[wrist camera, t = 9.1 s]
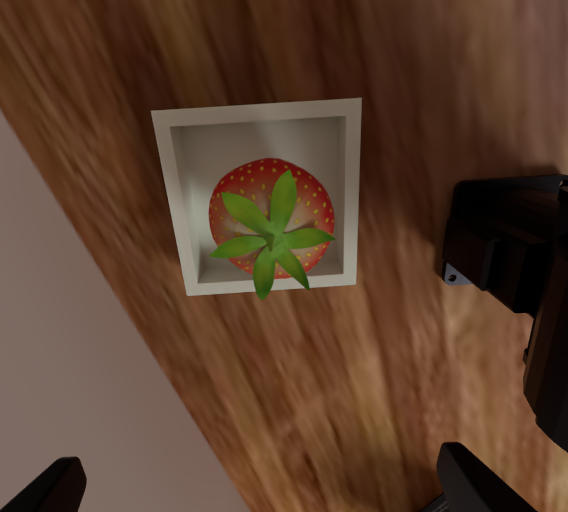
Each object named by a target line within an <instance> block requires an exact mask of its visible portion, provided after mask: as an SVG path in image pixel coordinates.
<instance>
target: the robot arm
mask: <svg viewBox="0 0 568 512" xmlns="http://www.w3.org/2000/svg"><path fill="white" fill-rule="evenodd" d="M562 180H563V183H562V185H561V186H560V187H559V184H560V182H561V181H562ZM465 186H467V191H466V192H465V193H462V190H463V188H464V187H465ZM442 258H443V259H444V263H443V270H442V280H443V281H444V282H445V283H446V284H448V285H464V284H474V285H475V286H476V287H477V288H479V289H480V290H481V291H488V292H489V293H490V294H491V295H493V296H494V297H495V298H496V299H498V300H499V301H500V302H501V303H503V304H504V305H505V306H506V307H508V308H509V309H510V310H511V311H513V312H514V313H527V314H528V315H529V316H531V317H532V318H533V319H534V321H533V325H532V330H531V334H530V339H529V343H528V348H527V349H525V350H524V354H523V361H524V363H525V365H526V367H525V372H524V376H523V391H524V395H525V397H526V399H527V401H528V403H529V405H530V407H531V408H532V410H533V412H534V414H535V415H536V419H535V422H536V424H537V425H538V427H539V428H540V429H541V430H542V431H543V432H544V433H545V434H546V435H547V436H548V437H549V438H550V439H551V440H552V441H553V442H554V443H556V444H557V445H558V446H560V447H561V448H562V449H563V450H565V451H566V452H567V453H568V175H564V174H553V175H538V176H522V177H506V178H491V179H475V180H463V181H460V182H459V183H457V185H456V186H455V188H454V194H453V201H452V207H451V214H450V217H449V219H448V220H447V225H446V232H445V239H444V246H443V254H442ZM451 275H453V277H452V278H451V279H448V278H449V276H451ZM437 473H438V476H439V479H440V482H441V485H442V489H443V492H444V495H445V498H446V501H447V504H448V507H449V510H450V512H537V511H536V510H535V509H534V508H533V507H532V506H531V505H529V504H528V503H527V502H526V501H525V500H524V499H523V498H522V497H521V496H519V495H518V494H517V493H516V492H515V491H514V490H513V489H512V488H511V487H509V486H508V485H507V484H506V483H505V482H504V481H503V480H502V479H500V478H499V477H498V476H497V475H496V474H495V473H494V472H493V471H492V470H490V469H489V468H488V467H487V466H486V465H485V464H484V463H483V462H482V461H480V460H479V459H478V458H477V457H476V456H475V455H474V454H473V453H472V452H470V451H469V450H468V449H467V448H466V447H465V446H464V445H462V444H461V443H459V442H444V443H443V444H442V445H441V448H440V452H439V456H438V460H437ZM86 480H87V479H86V475H85V472H84V470H83V467H82V464H81V462H80V459H79V458H78V457H62V458H59V459H57V460H56V461H55V462H53V463H52V464H51V465H50V466H49V467H48V468H47V469H46V470H45V471H43V472H42V473H41V474H40V475H39V476H38V477H36V478H35V479H34V480H33V481H32V482H31V483H30V484H29V485H27V486H26V487H25V488H24V489H23V490H22V491H21V492H20V493H18V494H17V495H16V496H15V497H14V498H13V499H12V500H10V501H9V502H8V503H7V504H6V505H5V506H4V507H3V508H1V509H0V512H78V509H79V506H80V503H81V500H82V497H83V494H84V492H85V488H86V483H87V481H86Z"/></svg>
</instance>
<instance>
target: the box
mask: <svg viewBox="0 0 568 512" xmlns="http://www.w3.org/2000/svg"><path fill="white" fill-rule="evenodd" d="M421 512H450V510H449V507H448V504H447V501H446V498H445V495H444V494H443V495H441V496H440V497H439V498H438V499H437V500H435V501H434V502H433V503H431V504H430V505H429V506H428V507H427V508H425V509H424V510H423V511H421Z"/></svg>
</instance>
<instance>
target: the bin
mask: <svg viewBox="0 0 568 512" xmlns="http://www.w3.org/2000/svg"><path fill="white" fill-rule="evenodd" d="M361 109H362V98H350V99H334V100H318V101H301V102H285V103H269V104H252V105H236V106H220V107H204V108H187V109H171V110H155V111H151V115H152V120H153V125H154V130H155V135H156V140H157V145H158V151H159V156H160V161H161V166H162V171H163V176H164V181H165V186H166V191H167V196H168V201H169V206H170V212H171V217H172V222H173V227H174V232H175V237H176V242H177V247H178V252H179V257H180V262H181V267H182V273H183V278H184V283H185V288H186V293H187V296H193V295H207V294H222V293H237V292H252V291H256V290H255V286H254V282H253V275H252V274H250V273H247V272H245V271H243V270H242V269H240V268H239V267H237V266H236V265H234V264H233V263H232V262H231V261H230V260H228V259H227V258H214V257H210V256H209V255H210V254H211V253H212V252H214V251H215V250H216V249H217V248H218V246H217V245H216V243H215V241H214V239H213V236H212V233H211V230H210V225H209V214H208V212H209V203H210V199H211V196H212V193H213V191H214V188H215V187H216V185H217V184H218V182H219V181H220V180H221V178H222V177H223V176H225V175H226V174H227V173H229V172H230V171H231V170H233V169H235V168H237V167H239V166H241V165H243V164H246V163H249V162H252V161H255V160H259V159H264V158H279V159H282V160H285V161H288V162H291V163H293V164H294V165H296V166H298V167H301V168H303V169H304V170H306V171H307V172H309V173H310V174H312V175H313V176H314V177H315V178H316V179H317V180H318V181H319V182H320V183H321V184H322V185H323V187H324V188H325V190H326V191H327V193H328V195H329V197H330V200H331V203H332V205H333V209H334V217H335V223H334V231H333V237H334V238H335V239H336V240H334V241H330V244H329V246H328V248H327V249H326V251H325V253H324V255H323V256H322V257H321V259H320V260H319V261H318V263H317V264H316V265H315V266H314V267H313V268H311V269H310V270H309V271H308V272H306V276H307V279H308V282H309V287H310V288H312V287H327V286H342V285H356V266H357V235H358V203H359V172H360V140H361ZM297 288H305V287H304V286H302V285H301V284H300V283H299V282H298V281H297V280H295V279H294V278H293V277H292V278H287V279H274V283H273V286H272V288H271V290H282V289H297Z"/></svg>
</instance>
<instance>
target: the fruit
mask: <svg viewBox="0 0 568 512" xmlns="http://www.w3.org/2000/svg"><path fill="white" fill-rule="evenodd" d="M208 214H209V225H210V230H211V233H212V236H213V239H214V241H215V243H216V245H217V246H218V248H217V249H216V250H215V251H214V252H212V253H211V254H210V255H209V256H210V257H214V258H227V259H228V260H230V261H231V262H232V263H233V264H234V265H236V266H237V267H239V268H240V269H242V270H243V271H245V272H247V273H250V274H252V275H253V282H254V286H255V290H256V293H257V295H258V297H259V298H260V299H261V300H263V299H264V298H265V297H266V296H267V295H268V294H269V292H270V290H271V288H272V286H273V283H274V279H287V278H292V277H293V278H294V279H295V280H297V281H298V282H299V283H300V284H301V285H302V286H304V287H305V288H306V289H307V290H310V287H309V282H308V279H307V276H306V272H308V271H309V270H310V269H311V268H313V267H314V266H315V265H316V264H317V263H318V261H319V260H320V259H321V257H322V256H323V255H324V253H325V251H326V249H327V248H328V246H329V244H330V241H334V240H336V239H335V238H334V237H333V231H334V223H335V217H334V209H333V205H332V203H331V200H330V197H329V195H328V193H327V191H326V190H325V188H324V187H323V185H322V184H321V183H320V182H319V181H318V180H317V179H316V178H315V177H314V176H313V175H312V174H310V173H309V172H307V171H306V170H304V169H303V168H301V167H298V166H296V165H294V164H293V163H291V162H288V161H285V160H282V159H279V158H264V159H259V160H255V161H252V162H249V163H246V164H243V165H241V166H239V167H237V168H235V169H233V170H231V171H230V172H229V173H227V174H226V175H225V176H223V177H222V178H221V180H220V181H219V182H218V184H217V185H216V187H215V188H214V191H213V193H212V196H211V199H210V203H209V212H208Z"/></svg>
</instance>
